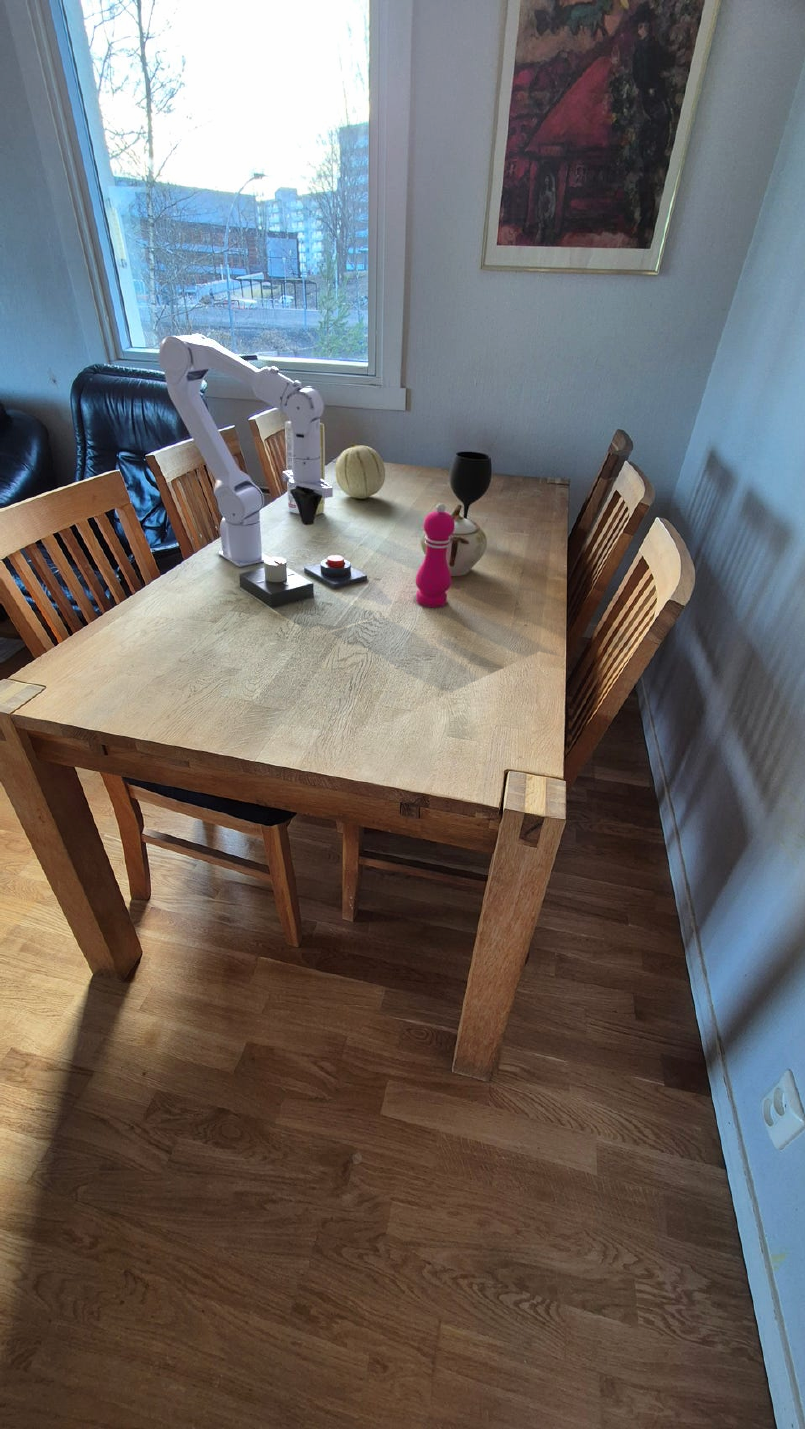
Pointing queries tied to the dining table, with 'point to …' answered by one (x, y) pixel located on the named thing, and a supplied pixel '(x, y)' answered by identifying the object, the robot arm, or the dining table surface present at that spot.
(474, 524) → the sugar bowl
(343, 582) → the button block
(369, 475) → the cantaloupe
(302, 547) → the dining table surface
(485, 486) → the wine glass
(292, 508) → the juice carton
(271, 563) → the timer knob
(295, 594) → the panel
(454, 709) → the dining table surface
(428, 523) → the pepper mill
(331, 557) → the power button
